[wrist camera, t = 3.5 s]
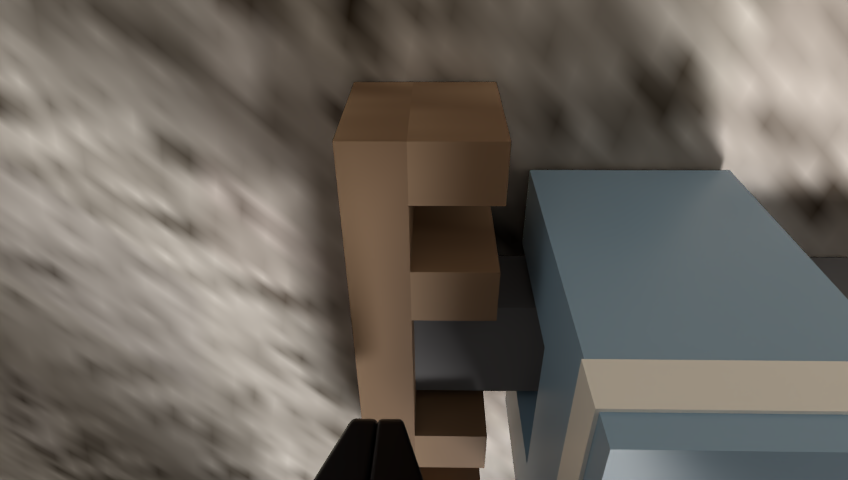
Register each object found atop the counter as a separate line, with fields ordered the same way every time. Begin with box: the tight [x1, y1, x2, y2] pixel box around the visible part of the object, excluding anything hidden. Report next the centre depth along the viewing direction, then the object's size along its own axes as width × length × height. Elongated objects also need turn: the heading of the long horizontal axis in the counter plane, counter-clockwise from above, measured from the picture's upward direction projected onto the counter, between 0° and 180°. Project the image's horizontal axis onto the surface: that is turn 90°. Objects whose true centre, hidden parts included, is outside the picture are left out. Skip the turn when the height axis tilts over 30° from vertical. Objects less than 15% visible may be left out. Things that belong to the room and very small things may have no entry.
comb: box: [332, 82, 511, 480], centre depth 11 cm, size 2×9×2 cm, turn 0°
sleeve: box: [506, 170, 848, 480], centre depth 10 cm, size 4×6×6 cm, turn 1°
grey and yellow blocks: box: [414, 256, 848, 391], centre depth 11 cm, size 16×4×4 cm, turn 90°
